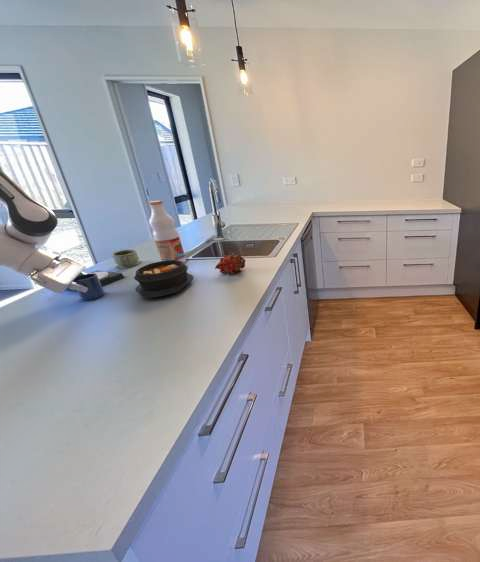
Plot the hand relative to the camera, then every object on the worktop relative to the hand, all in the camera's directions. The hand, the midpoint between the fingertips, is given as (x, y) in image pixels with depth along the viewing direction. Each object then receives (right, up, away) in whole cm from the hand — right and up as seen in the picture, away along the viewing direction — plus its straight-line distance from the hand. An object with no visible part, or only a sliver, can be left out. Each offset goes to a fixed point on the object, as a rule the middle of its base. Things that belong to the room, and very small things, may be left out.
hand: (91, 285), depth 106 cm
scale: (-11, +1, +13) cm, 17 cm away
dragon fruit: (+41, +5, +20) cm, 46 cm away
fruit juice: (+8, +10, +33) cm, 35 cm away
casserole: (+21, -1, +8) cm, 23 cm away
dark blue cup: (0, -4, +1) cm, 5 cm away
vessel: (-12, +9, +31) cm, 35 cm away
